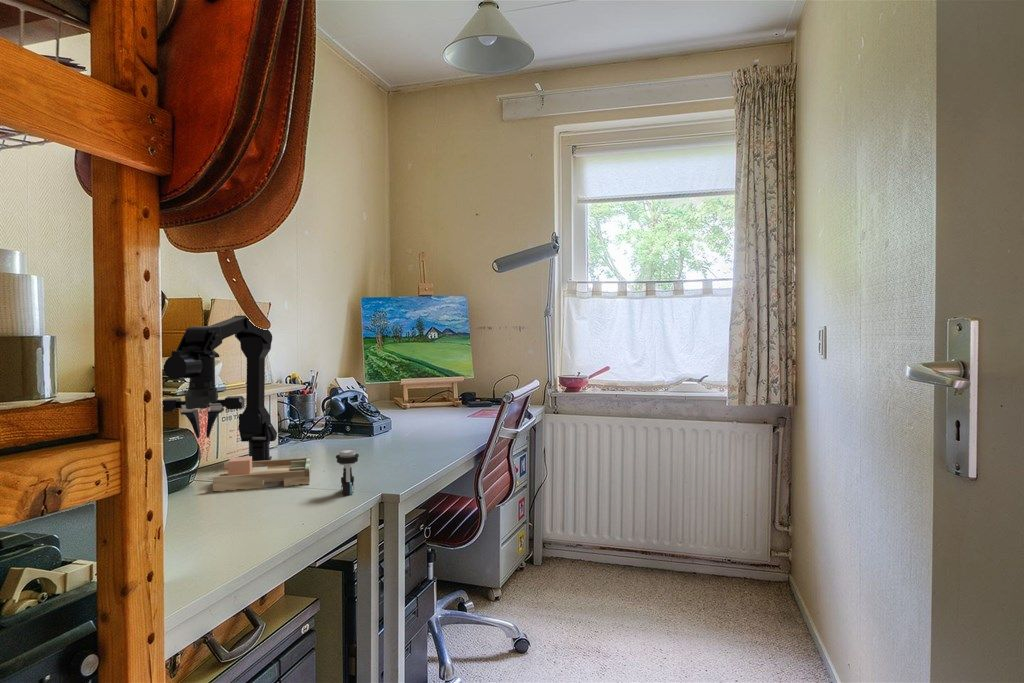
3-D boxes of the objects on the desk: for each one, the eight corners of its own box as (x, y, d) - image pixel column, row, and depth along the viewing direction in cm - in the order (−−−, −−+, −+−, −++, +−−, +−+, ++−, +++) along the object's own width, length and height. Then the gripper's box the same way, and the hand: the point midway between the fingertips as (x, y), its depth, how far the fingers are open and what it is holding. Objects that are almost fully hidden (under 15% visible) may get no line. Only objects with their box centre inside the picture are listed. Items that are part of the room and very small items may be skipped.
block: (231, 472, 150) (231, 457, 150) (252, 471, 152) (252, 456, 152) (228, 477, 146) (228, 461, 146) (249, 475, 147) (249, 460, 147)
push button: (335, 489, 142) (334, 448, 142) (357, 487, 144) (357, 447, 144) (336, 496, 136) (336, 454, 135) (360, 494, 138) (359, 452, 137)
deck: (224, 476, 155) (224, 461, 155) (310, 469, 162) (310, 455, 162) (213, 492, 140) (213, 475, 140) (309, 484, 146) (309, 468, 146)
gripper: (150, 380, 135) (151, 446, 135) (238, 377, 141) (238, 441, 141) (163, 376, 146) (164, 437, 146) (244, 374, 151) (245, 433, 152)
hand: (203, 437), depth 146 cm, fingers closed
